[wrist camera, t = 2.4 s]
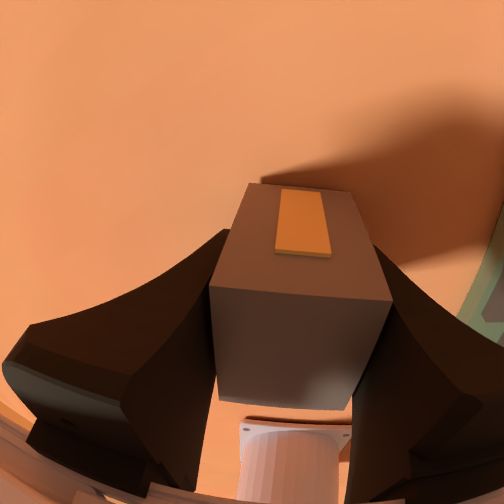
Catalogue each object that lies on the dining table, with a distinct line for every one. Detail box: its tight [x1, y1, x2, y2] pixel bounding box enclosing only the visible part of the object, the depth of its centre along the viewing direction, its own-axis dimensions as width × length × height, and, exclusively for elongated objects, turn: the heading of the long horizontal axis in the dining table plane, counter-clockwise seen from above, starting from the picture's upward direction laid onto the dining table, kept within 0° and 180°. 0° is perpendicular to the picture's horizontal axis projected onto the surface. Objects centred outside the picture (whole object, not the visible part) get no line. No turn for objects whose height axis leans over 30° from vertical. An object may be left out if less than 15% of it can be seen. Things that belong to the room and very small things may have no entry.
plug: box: [209, 183, 393, 410], centre depth 9 cm, size 4×3×6 cm
